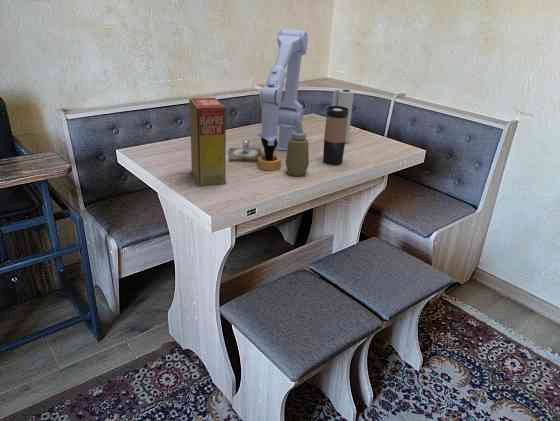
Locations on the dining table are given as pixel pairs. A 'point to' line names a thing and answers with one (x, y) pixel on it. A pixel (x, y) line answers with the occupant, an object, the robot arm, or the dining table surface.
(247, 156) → the walnut base plate
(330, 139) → the travel mug
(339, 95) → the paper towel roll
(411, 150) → the dining table surface
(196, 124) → the food packaging
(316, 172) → the dining table surface
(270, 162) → the wooden ring
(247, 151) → the steel shaft
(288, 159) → the squeeze bottle
